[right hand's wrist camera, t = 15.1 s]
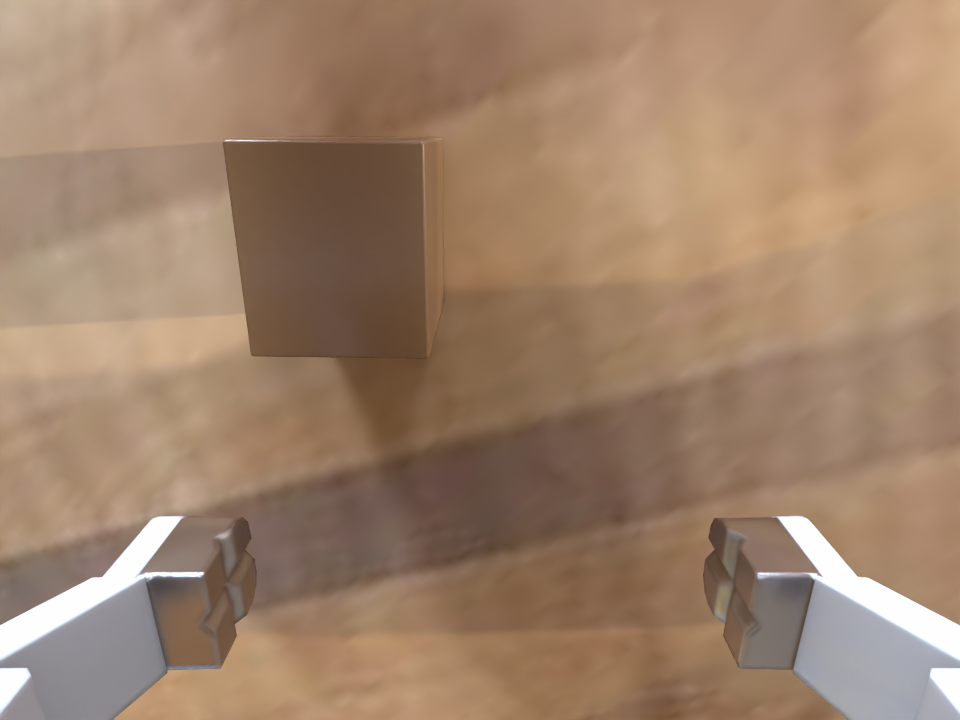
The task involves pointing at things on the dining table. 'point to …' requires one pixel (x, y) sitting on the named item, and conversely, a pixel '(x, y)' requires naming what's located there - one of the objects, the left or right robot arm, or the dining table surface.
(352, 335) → the block
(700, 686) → the dining table surface
